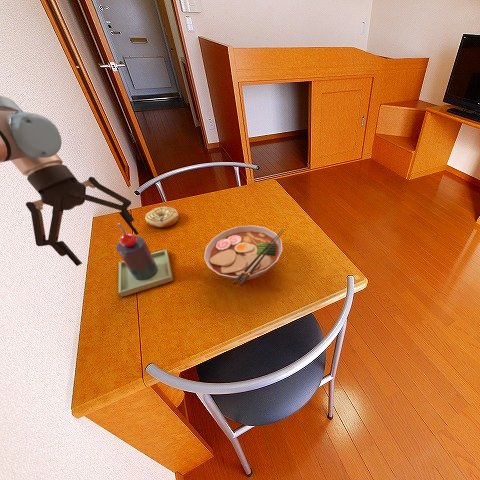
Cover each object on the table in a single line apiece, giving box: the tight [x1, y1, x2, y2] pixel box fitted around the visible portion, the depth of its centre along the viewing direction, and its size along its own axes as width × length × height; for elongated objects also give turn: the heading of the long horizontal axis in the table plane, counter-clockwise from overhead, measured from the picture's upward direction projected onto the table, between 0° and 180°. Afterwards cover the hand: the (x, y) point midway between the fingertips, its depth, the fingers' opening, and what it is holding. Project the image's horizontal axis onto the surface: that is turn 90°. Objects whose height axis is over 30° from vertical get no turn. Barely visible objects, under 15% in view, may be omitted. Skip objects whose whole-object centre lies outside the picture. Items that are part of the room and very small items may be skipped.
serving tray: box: [117, 249, 174, 298], centre depth 82 cm, size 13×13×2 cm
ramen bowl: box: [203, 224, 285, 287], centre depth 84 cm, size 25×23×8 cm
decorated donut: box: [144, 206, 179, 228], centre depth 101 cm, size 10×11×4 cm
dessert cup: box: [115, 223, 158, 280], centre depth 76 cm, size 7×7×18 cm
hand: (110, 249), depth 68 cm, fingers open, 13 cm apart
